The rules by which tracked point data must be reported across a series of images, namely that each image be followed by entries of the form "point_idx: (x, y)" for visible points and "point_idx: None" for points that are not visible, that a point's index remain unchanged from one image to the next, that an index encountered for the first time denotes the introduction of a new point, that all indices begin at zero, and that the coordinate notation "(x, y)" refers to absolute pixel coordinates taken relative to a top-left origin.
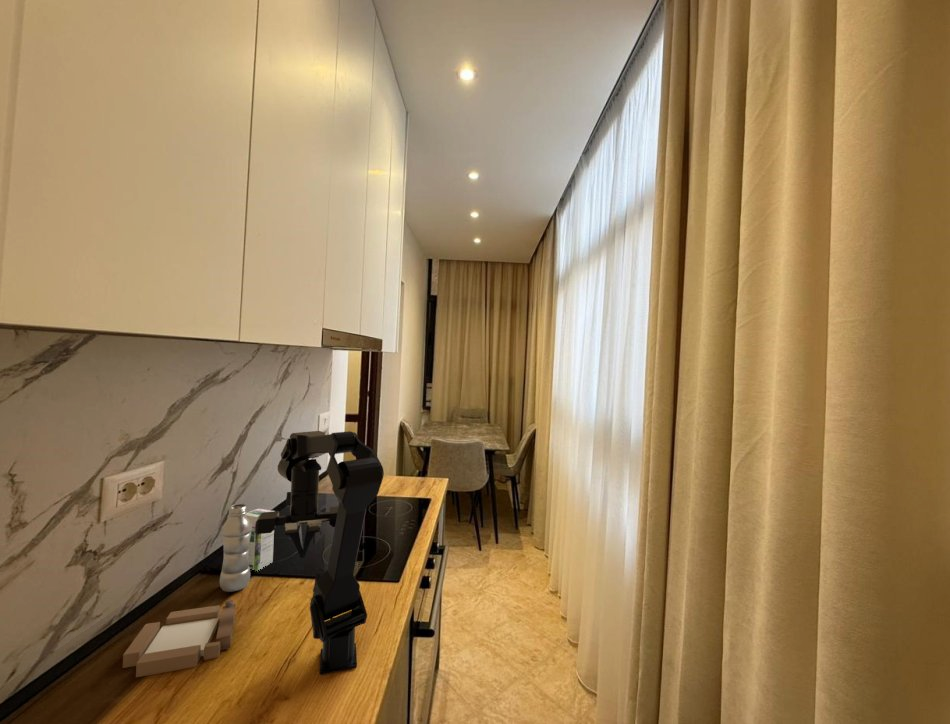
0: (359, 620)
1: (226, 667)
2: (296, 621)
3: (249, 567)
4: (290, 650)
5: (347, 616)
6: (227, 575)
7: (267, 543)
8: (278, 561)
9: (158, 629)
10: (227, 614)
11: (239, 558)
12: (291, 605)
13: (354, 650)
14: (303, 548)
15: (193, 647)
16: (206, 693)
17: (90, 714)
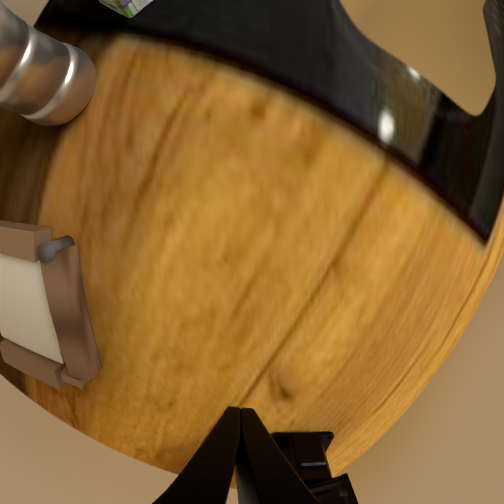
0: (340, 495)
1: (115, 402)
2: (229, 333)
3: (112, 7)
4: (217, 413)
5: (325, 490)
6: (22, 115)
7: None
8: None
9: None
10: (56, 296)
11: (9, 96)
12: (216, 246)
13: (325, 447)
14: (239, 499)
15: (47, 371)
16: (110, 430)
17: (15, 385)
